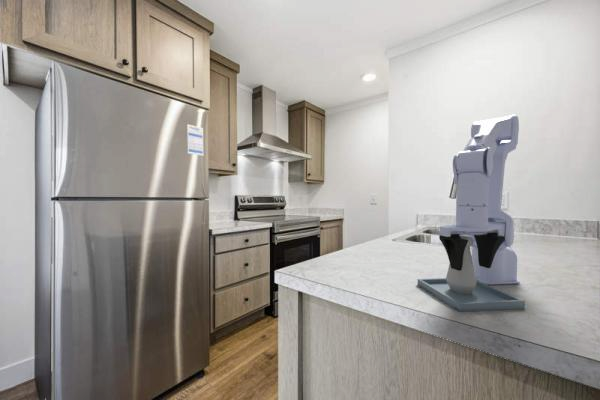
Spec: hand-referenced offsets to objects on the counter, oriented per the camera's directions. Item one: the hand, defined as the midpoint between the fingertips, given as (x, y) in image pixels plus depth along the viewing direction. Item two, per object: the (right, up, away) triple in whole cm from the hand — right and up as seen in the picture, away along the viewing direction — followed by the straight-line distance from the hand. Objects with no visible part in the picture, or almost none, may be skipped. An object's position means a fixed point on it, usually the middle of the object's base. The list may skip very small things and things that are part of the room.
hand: (470, 268), depth 53 cm
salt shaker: (0, -6, +3) cm, 7 cm away
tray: (0, -7, +2) cm, 7 cm away
